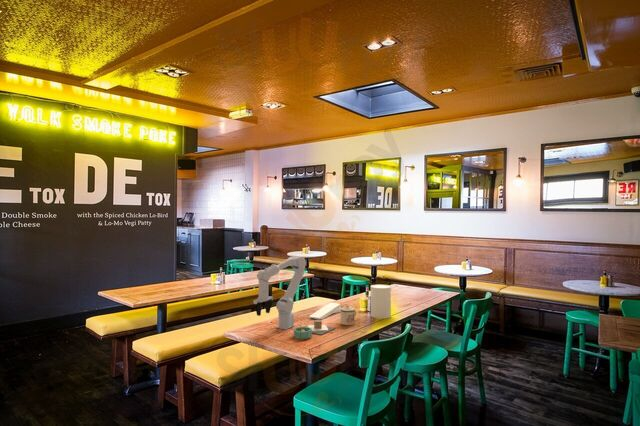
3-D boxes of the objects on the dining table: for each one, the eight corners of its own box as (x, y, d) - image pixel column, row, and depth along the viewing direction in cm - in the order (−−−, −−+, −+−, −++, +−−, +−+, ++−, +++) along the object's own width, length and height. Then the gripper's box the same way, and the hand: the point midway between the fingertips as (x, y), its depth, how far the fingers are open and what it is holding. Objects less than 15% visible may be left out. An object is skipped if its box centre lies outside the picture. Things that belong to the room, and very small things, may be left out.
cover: (307, 326, 234) (307, 318, 234) (325, 325, 236) (325, 317, 236) (309, 332, 224) (309, 323, 224) (328, 331, 225) (328, 322, 225)
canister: (376, 319, 253) (376, 288, 253) (367, 314, 266) (367, 285, 266) (394, 317, 257) (394, 287, 257) (385, 312, 270) (384, 283, 270)
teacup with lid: (347, 326, 237) (347, 307, 237) (337, 323, 243) (337, 304, 244) (360, 322, 245) (360, 304, 245) (350, 319, 252) (350, 301, 252)
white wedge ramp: (320, 329, 251) (341, 313, 275) (321, 318, 250) (342, 304, 273) (307, 323, 256) (329, 308, 280) (309, 313, 255) (330, 299, 278)
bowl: (301, 332, 224) (301, 325, 224) (315, 335, 219) (315, 328, 219) (290, 337, 216) (290, 330, 216) (304, 340, 210) (304, 333, 210)
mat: (314, 324, 240) (314, 323, 240) (335, 328, 232) (335, 327, 232) (300, 330, 228) (300, 329, 228) (321, 335, 219) (321, 334, 219)
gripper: (266, 288, 234) (266, 310, 234) (249, 291, 222) (249, 315, 222) (275, 289, 230) (275, 312, 230) (258, 293, 218) (258, 317, 218)
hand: (263, 314), depth 226 cm, fingers open, 7 cm apart
